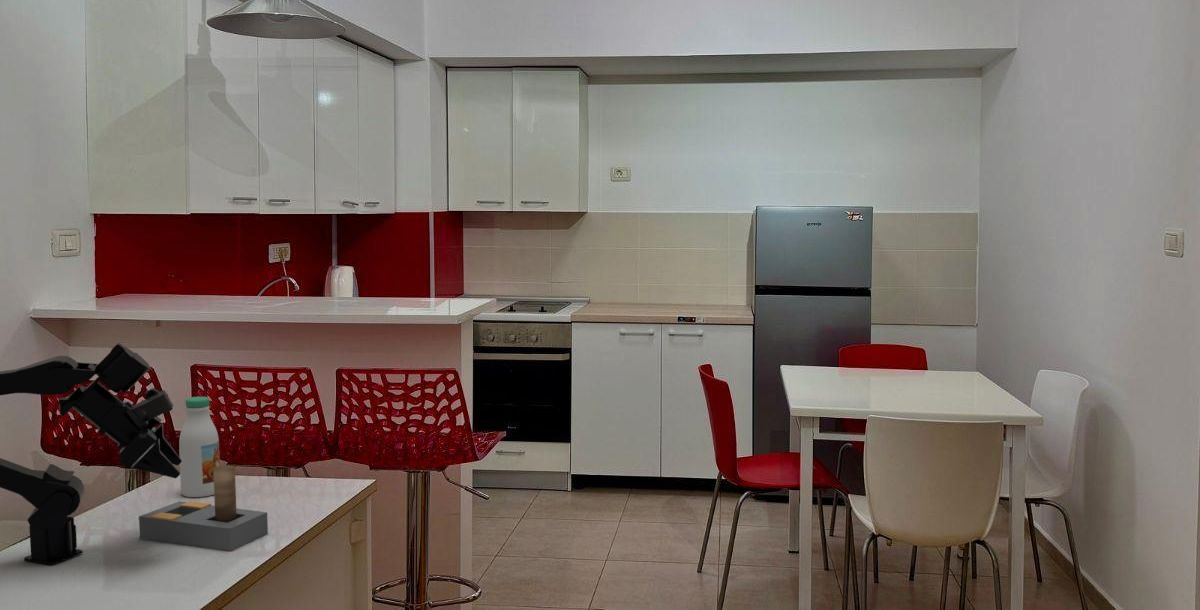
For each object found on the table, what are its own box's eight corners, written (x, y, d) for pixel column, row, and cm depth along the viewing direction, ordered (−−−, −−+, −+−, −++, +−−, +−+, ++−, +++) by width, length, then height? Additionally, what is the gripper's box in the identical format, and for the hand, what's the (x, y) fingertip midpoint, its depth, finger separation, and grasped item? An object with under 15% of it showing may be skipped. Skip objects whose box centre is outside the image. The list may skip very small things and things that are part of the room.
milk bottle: (188, 500, 208) (185, 403, 206) (175, 492, 213) (171, 397, 211) (226, 493, 213) (223, 398, 211) (212, 485, 218) (209, 393, 216)
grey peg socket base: (267, 533, 187) (267, 510, 186) (230, 551, 178) (229, 527, 177) (180, 521, 194) (179, 499, 193) (139, 538, 184) (138, 514, 184)
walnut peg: (228, 543, 182) (225, 471, 180) (211, 541, 183) (208, 469, 182) (241, 537, 185) (239, 466, 184) (225, 534, 186) (222, 464, 185)
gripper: (138, 386, 168) (212, 446, 173) (145, 368, 185) (212, 424, 190) (86, 437, 166) (163, 497, 171) (99, 415, 183) (168, 469, 188)
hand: (179, 469), depth 180 cm, fingers open, 9 cm apart
